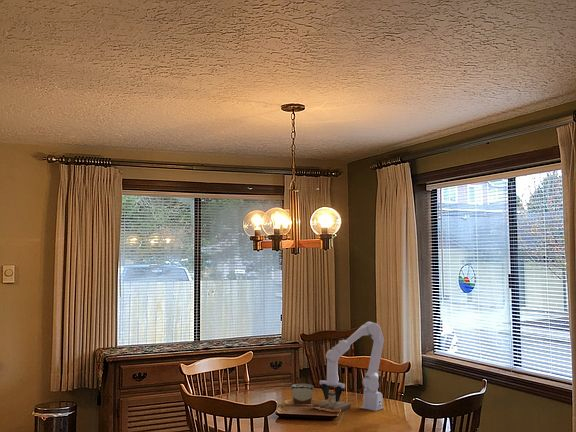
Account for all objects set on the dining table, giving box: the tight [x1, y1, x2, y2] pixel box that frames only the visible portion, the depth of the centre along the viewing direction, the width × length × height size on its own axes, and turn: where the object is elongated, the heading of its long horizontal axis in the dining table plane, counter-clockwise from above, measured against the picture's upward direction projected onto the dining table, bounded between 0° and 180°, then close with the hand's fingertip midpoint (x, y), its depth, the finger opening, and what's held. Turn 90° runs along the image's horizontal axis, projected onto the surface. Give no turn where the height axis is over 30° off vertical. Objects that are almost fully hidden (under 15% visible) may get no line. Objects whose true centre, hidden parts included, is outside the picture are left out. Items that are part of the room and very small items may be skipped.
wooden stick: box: [328, 391, 336, 405], centre depth 309 cm, size 2×2×8 cm
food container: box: [290, 383, 315, 405], centre depth 319 cm, size 12×6×10 cm, turn 84°
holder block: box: [312, 399, 352, 413], centre depth 309 cm, size 14×14×2 cm
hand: (331, 400), depth 309 cm, fingers open, 6 cm apart
